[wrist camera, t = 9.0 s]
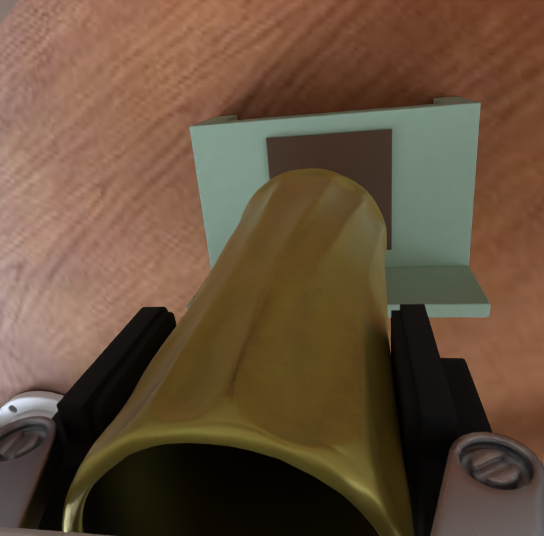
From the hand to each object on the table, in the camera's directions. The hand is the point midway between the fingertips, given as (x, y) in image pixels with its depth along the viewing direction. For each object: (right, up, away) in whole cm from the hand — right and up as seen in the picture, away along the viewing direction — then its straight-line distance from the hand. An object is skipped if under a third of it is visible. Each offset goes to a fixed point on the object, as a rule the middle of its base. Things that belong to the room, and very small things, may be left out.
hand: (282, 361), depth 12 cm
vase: (+1, +4, +8) cm, 9 cm away
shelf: (+4, +9, +22) cm, 24 cm away
